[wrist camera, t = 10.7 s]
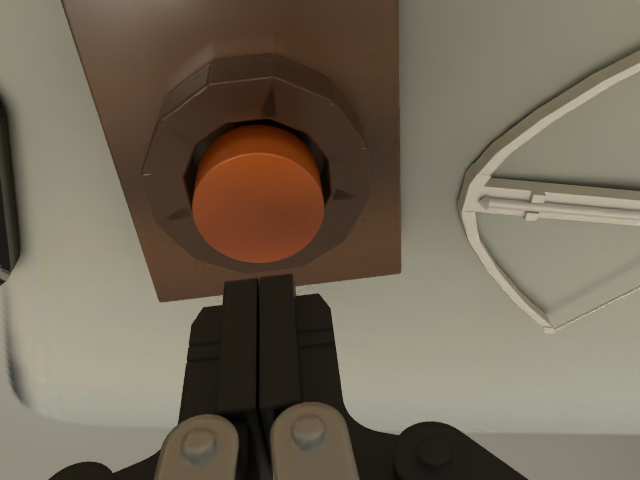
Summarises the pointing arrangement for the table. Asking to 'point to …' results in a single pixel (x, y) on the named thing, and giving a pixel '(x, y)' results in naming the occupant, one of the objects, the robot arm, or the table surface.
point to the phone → (7, 206)
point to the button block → (249, 122)
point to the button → (258, 194)
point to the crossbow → (544, 185)
